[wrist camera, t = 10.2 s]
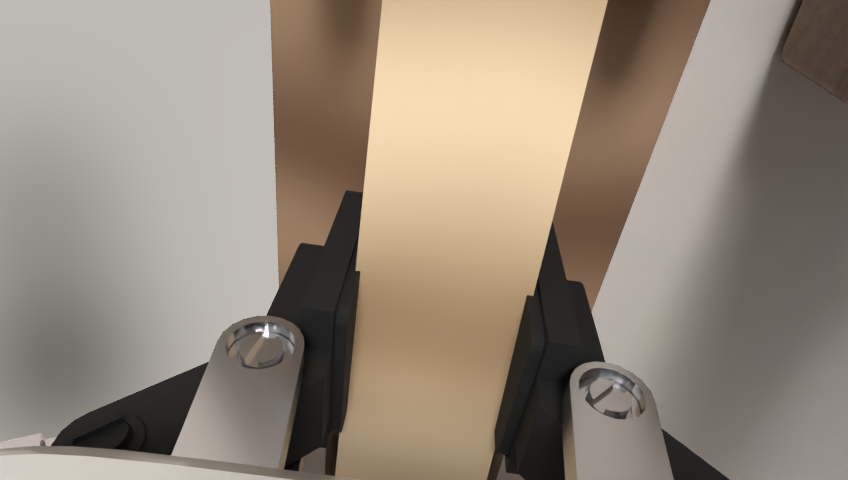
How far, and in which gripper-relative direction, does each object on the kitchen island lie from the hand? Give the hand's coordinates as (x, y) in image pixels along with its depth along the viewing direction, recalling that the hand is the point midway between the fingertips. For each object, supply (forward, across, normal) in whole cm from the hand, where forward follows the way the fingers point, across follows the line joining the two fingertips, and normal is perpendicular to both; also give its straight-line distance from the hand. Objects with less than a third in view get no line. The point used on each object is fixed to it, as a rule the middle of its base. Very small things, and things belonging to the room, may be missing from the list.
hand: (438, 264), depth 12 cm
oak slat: (+1, 0, 0) cm, 1 cm away
